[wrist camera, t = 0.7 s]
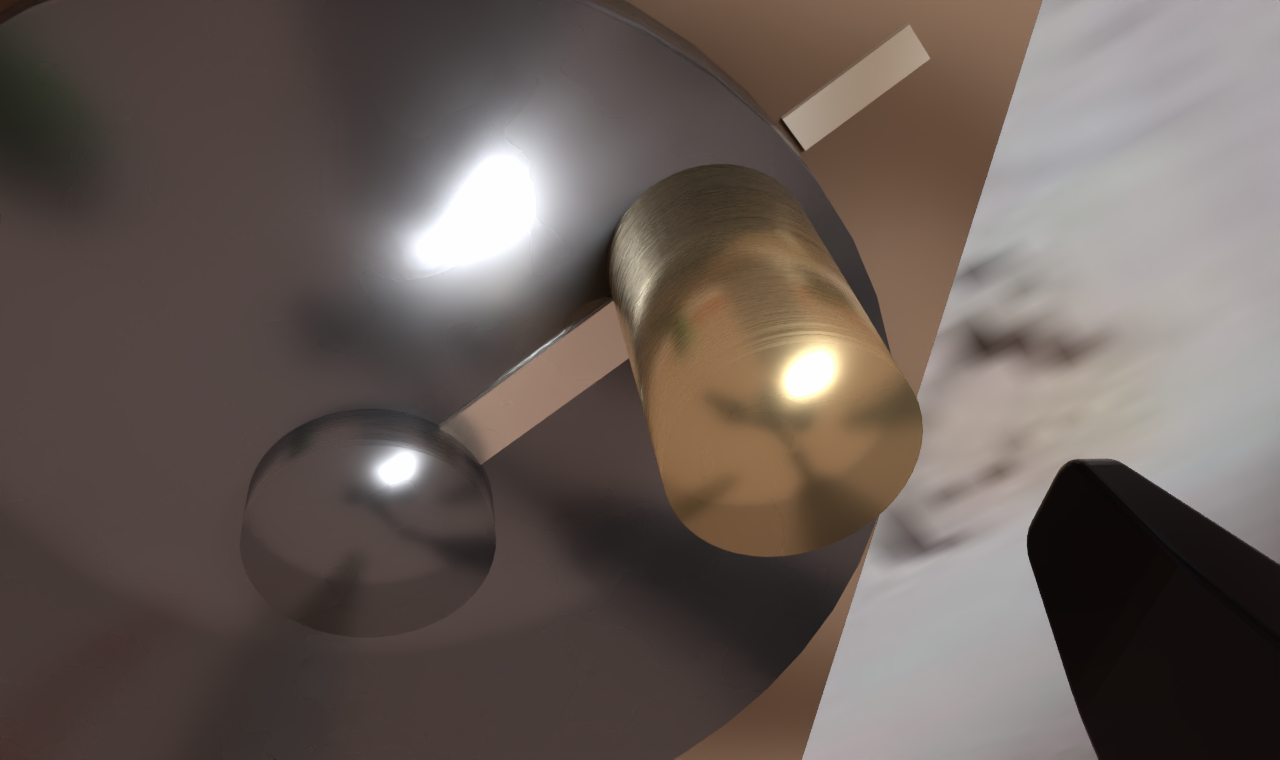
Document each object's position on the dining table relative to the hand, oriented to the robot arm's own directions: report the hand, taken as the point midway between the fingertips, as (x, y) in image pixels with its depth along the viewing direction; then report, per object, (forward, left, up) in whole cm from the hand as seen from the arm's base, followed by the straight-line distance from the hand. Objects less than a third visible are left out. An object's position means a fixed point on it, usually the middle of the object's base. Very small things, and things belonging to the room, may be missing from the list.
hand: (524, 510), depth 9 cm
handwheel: (-8, +1, -11) cm, 13 cm away
